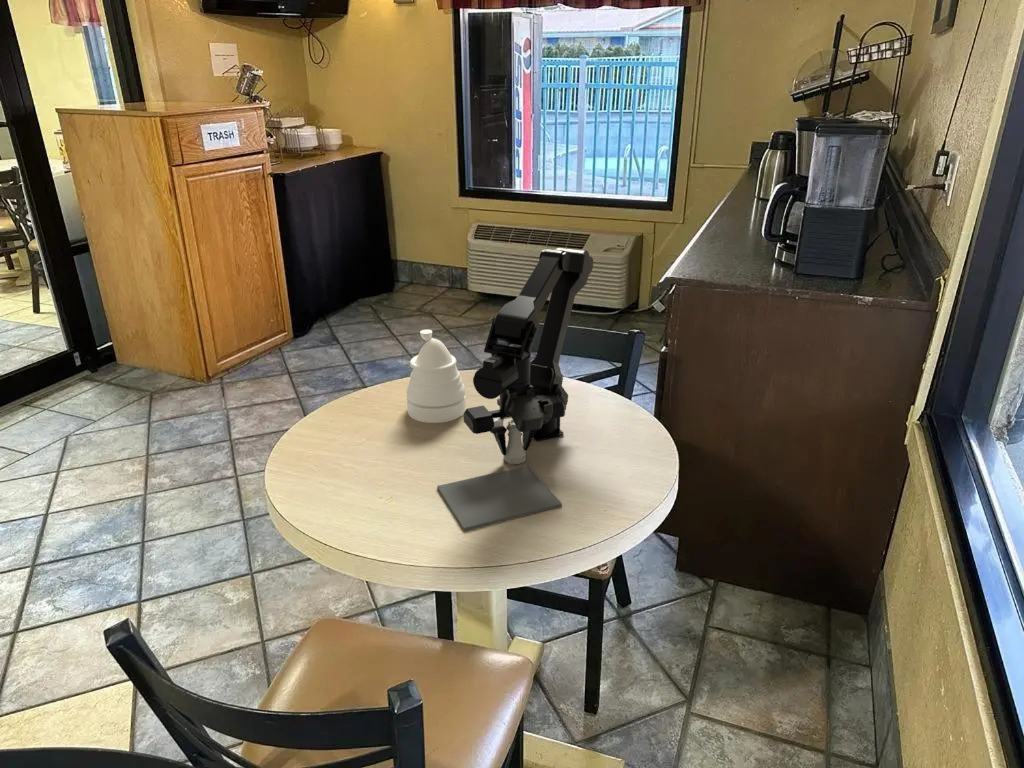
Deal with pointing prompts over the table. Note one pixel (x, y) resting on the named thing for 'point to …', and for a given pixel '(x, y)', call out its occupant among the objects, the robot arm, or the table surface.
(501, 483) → the rubber mat
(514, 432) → the rook chess piece
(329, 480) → the table surface
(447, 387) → the honey pot
